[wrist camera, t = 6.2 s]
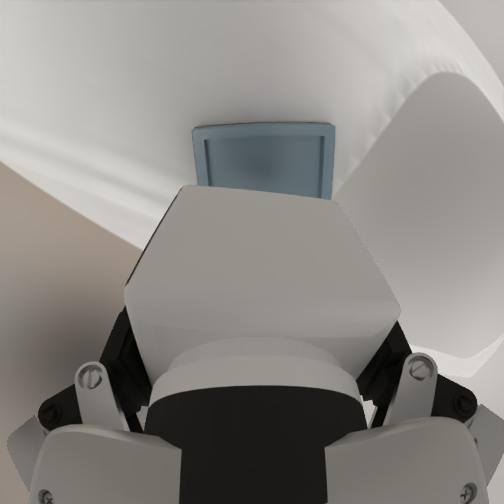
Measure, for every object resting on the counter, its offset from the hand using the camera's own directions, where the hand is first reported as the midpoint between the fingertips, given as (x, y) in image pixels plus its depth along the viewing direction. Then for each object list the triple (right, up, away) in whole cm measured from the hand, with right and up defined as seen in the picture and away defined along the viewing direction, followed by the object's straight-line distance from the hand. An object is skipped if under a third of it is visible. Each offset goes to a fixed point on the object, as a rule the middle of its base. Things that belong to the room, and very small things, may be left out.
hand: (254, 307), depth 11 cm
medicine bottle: (0, +2, +3) cm, 4 cm away
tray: (+1, +9, +17) cm, 19 cm away
